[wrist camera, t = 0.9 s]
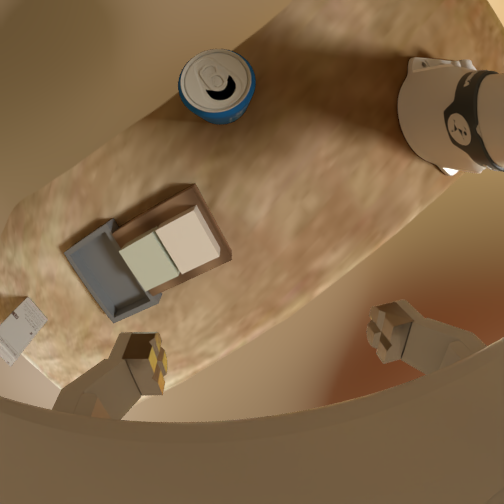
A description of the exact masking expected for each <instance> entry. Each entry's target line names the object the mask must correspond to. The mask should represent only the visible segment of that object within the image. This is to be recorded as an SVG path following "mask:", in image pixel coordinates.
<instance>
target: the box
mask: <svg viewBox="0 0 504 504" xmlns="http://www.w3.org/2000/svg"><path fill="white" fill-rule="evenodd" d="M118 228H119V226H118V225H117V223H116V221H115V220H114V218H113V219H111V220H110V221H108V222H106V223H105V224H103V225H102V226H100V227H99V228H97V229H96V230H94V231H93V232H92V233H90V234H89V235H87V236H86V237H84V238H83V239H81V240H80V241H79V242H77V243H76V244H74V245H73V246H72V247H70V248H69V249H68V250H67V251H66V252H64V254H65V256H66V257H67V259H68V261H69V262H70V264H71V265H72V267H73V268H74V270H75V271H76V273H77V274H78V276H79V277H80V279H81V280H82V282H83V283H84V285H85V286H86V287H87V289H88V290H89V292H90V293H91V294H92V296H93V297H94V299H95V300H96V301H97V303H98V304H99V305H100V307H101V308H102V309H103V311H104V312H105V313H106V315H107V316H108V317H109V318H110V320H111V321H112V322H113V323H115V322H118V321H120V320H122V319H124V318H127V317H129V316H131V315H133V314H136V313H138V312H140V311H142V310H145V309H147V308H149V307H151V306H154V305H156V304H158V303H159V301H160V298H161V296H162V293H159V294H157V295H155V296H152V295H151V293H150V292H149V290H148V291H146V292H145V290H144V289H143V287H142V286H141V284H140V283H139V282H138V280H137V279H136V277H135V276H134V274H133V273H132V271H131V270H130V268H129V267H128V265H127V264H126V262H125V261H124V259H123V257H122V256H121V254H120V253H119V251H120V250H121V248H120V247H119V245H118V243H117V242H116V240H115V238H114V237H113V235H112V233H113V232H115V231H116V230H117V229H118Z"/></svg>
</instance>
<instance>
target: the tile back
mask: <svg viewBox="0 0 504 504" xmlns="http://www.w3.org/2000/svg"><path fill="white" fill-rule="evenodd" d="M157 228H158V227H157V226H156V227H154V228H152V229H151V230H149V231H147V232H145V233H144V234H142V235H140V236H138V237H136V238H135V239H133V240H131V241H130V242H128V243H126V244H125V245H124V246H123V247H122V248H121V250H120V251H119V253H120V254H121V256H122V257H123V259H124V261H125V262H126V264H127V265H128V267H129V268H130V270H131V271H132V273H133V274H134V276H135V277H136V279H137V280H138V282H139V283H140V284H141V286H142V287H143V289H144V290H145V292H146V291H148V290H150V289H152V288H154V287H156V286H158V285H160V284H162V283H165V282H167V281H169V280H171V279H173V278H175V277H177V276H179V273H180V270H179V269H178V267H177V266H176V264H175V263H174V261H173V259H172V258H171V256H170V254H169V253H168V251H167V250H166V248H165V246H164V245H163V243H162V241H161V240H160V238H159V236H158V235H157V233H156V231H155V230H156V229H157Z"/></svg>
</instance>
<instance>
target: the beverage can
mask: <svg viewBox="0 0 504 504" xmlns="http://www.w3.org/2000/svg"><path fill="white" fill-rule="evenodd" d="M255 85H256V80H255V74H254V71H253V69H252V67H251V65H250V64H249V62H248V61H247V60H246V59H245V58H243V57H242V56H241V55H239V54H237V53H235V52H233V51H230V50H225V49H212V50H207V51H204V52H201V53H199V54H198V55H196V56H194V57H193V58H192V59H191V60H190V61H188V62H187V64H186V65H185V66H184V68H183V69H182V72H181V74H180V77H179V82H178V90H179V95H180V97H181V100H182V102H183V103H184V105H185V106H186V107H187V108H188V109H189V110H190V111H192V112H193V113H195V114H196V115H198V116H200V117H201V118H203V119H204V120H206V121H208V122H210V123H213V124H228V123H231V122H234V121H235V120H237V119H238V118H240V117H241V116H242V115H243V114H244V112H245V111H246V109H247V107H248V105H249V102H250V100H251V98H252V96H253V94H254V90H255Z"/></svg>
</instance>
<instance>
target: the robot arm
mask: <svg viewBox="0 0 504 504" xmlns="http://www.w3.org/2000/svg"><path fill="white" fill-rule="evenodd" d="M422 64H423V66H424V67H423V66H422ZM398 117H399V122H400V126H401V129H402V132H403V134H404V136H405V139H406V140H407V142H408V144H409V145H410V147H411V148H412V149H413V151H414V152H415V153H416V154H417V155H418V156H420V157H421V158H422V159H424V160H426V161H428V162H430V163H433V164H435V165H437V166H438V167H439V168H440V170H441V171H442V172H443V173H444V174H446V175H449V176H453V175H454V174H455V173H457V172H458V171H459V170H460V171H466V172H472V173H481V171H482V170H484V169H485V168H488V169H490V170H494V171H503V172H504V73H501V74H499V73H497V72H494V71H488V70H476V69H475V67H474V66H473V65H472V62H471V60H459V61H447V60H440V59H431V58H421V57H414V58H411V59H410V60H409V63H408V75H407V77H406V79H405V81H404V83H403V84H402V87H401V89H400V92H399V96H398ZM369 316H370V318H371V319H372V320H371V321H370V323H369V324H368V325H367V338H368V341H369V343H370V345H371V346H372V347H374V348H376V349H377V353H376V354H377V355H378V357H379V358H380V359H381V361H382V362H383V363H384V364H385V363H389V362H392V361H396V360H400V359H401V360H402V361H404V362H406V363H407V364H409V365H411V366H412V367H414V368H416V369H418V370H419V371H421V372H423V373H425V374H426V375H425V376H422V377H420V378H417V379H415V380H412V381H409V382H407V383H404V384H401V385H398V386H395V387H392V388H389V389H386V390H383V391H380V392H377V393H373V394H370V395H366V396H363V397H359V398H355V399H352V400H348V401H344V402H340V403H336V404H331V405H327V406H323V407H318V408H313V409H308V410H303V411H298V412H292V413H286V414H280V415H273V416H266V417H258V418H250V419H239V420H227V421H212V422H182V423H181V422H174V423H173V422H170V423H169V422H141V421H125V420H121V419H122V417H123V416H124V415H125V414H126V413H127V412H128V411H129V410H130V408H132V406H133V405H134V404H135V403H136V402H137V401H138V400H139V399H140V398H141V395H163V391H164V385H165V381H164V378H163V377H164V376H165V375H166V374H167V357H166V353H165V350H164V349H163V348H162V347H161V343H162V340H161V337H160V334H159V333H158V332H133V333H132V332H127V333H120V334H119V336H118V338H117V340H116V343H115V345H114V347H113V349H112V351H111V354H110V356H109V358H108V359H104V360H103V361H101V362H100V363H98V364H97V365H96V366H94V367H93V368H91V369H90V370H88V371H87V372H86V373H84V374H83V375H81V376H80V377H78V378H77V379H76V380H74V381H73V382H71V383H70V384H68V385H67V386H65V387H64V388H63V389H62V390H61V392H60V394H59V396H58V398H57V400H56V402H55V404H54V406H53V409H52V410H50V409H45V408H41V407H37V406H32V405H28V404H25V403H21V402H17V401H14V400H11V399H7V398H4V397H1V396H0V504H504V337H503V338H502V339H500V340H498V341H496V342H495V343H493V344H491V345H489V346H486V345H485V344H484V343H483V342H482V341H481V340H480V339H479V338H478V337H477V336H476V335H475V334H473V333H472V332H469V331H465V330H463V329H460V328H457V327H454V326H451V325H448V324H445V323H442V322H438V321H436V320H433V319H430V318H424V317H423V316H422V315H421V314H420V313H419V312H417V310H416V309H415V308H413V307H412V306H411V305H410V304H409V303H408V302H407V301H406V300H398V301H394V302H392V303H387V304H382V305H377V306H373V307H372V308H371V310H370V314H369Z"/></svg>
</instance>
